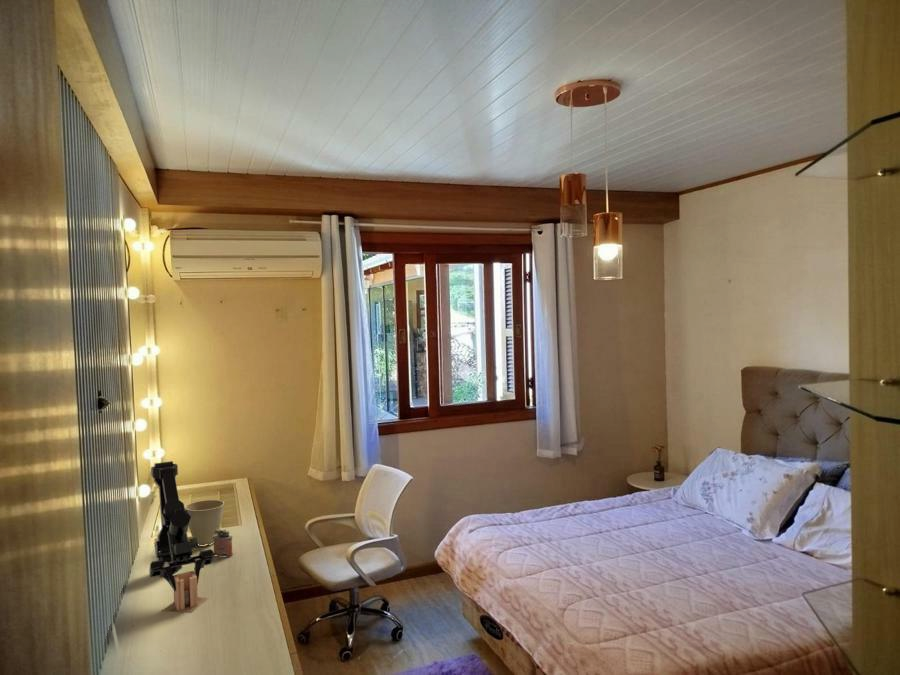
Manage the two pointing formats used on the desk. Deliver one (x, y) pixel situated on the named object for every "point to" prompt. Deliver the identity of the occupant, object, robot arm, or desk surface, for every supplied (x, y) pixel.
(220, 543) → the perfume bottle
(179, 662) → the desk surface
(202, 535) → the plant pot
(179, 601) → the c link
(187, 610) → the stand
